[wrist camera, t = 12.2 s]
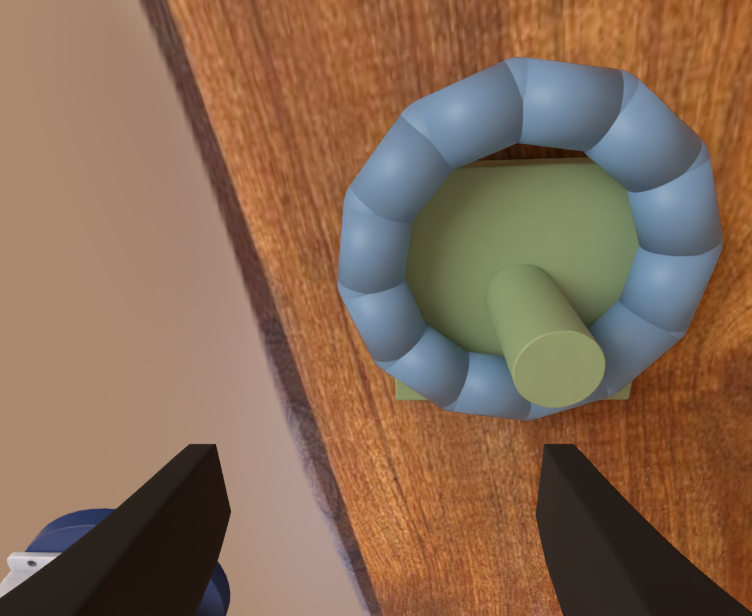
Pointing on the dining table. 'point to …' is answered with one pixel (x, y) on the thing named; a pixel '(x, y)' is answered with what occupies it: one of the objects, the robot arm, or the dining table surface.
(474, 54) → the dining table surface
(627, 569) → the robot arm
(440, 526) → the dining table surface
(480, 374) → the ring
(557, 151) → the dining table surface
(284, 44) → the dining table surface
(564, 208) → the peg stand
